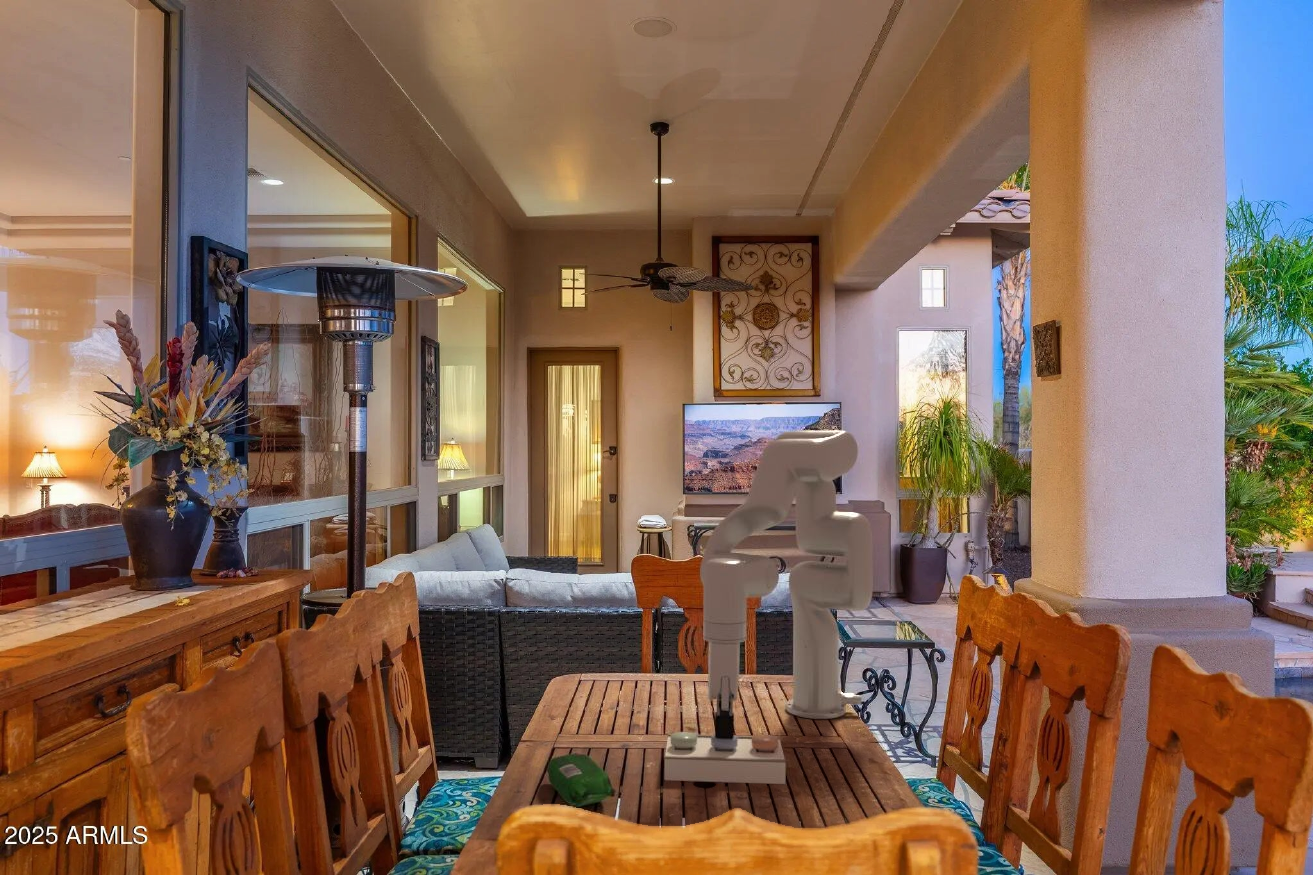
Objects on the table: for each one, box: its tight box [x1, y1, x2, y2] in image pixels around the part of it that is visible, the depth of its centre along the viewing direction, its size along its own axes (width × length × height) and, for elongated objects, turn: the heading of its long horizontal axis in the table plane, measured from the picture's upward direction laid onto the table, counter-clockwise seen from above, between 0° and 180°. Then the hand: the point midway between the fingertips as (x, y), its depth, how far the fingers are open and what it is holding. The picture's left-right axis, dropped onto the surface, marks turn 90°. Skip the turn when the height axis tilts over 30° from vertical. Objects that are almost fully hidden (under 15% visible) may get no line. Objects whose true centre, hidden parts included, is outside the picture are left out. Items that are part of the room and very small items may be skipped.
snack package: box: [546, 752, 617, 808], centre depth 134 cm, size 7×16×5 cm, turn 24°
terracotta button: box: [752, 733, 778, 753], centre depth 146 cm, size 5×5×4 cm
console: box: [664, 733, 787, 785], centre depth 146 cm, size 20×12×4 cm, turn 86°
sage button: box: [671, 731, 697, 750], centre depth 147 cm, size 5×5×4 cm
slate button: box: [711, 733, 738, 752], centre depth 146 cm, size 5×5×4 cm
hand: (724, 736), depth 146 cm, fingers closed
